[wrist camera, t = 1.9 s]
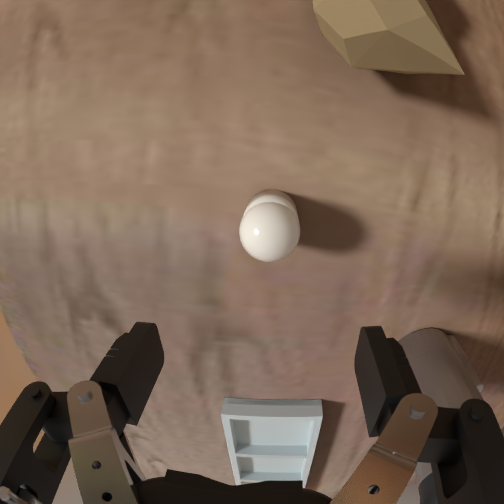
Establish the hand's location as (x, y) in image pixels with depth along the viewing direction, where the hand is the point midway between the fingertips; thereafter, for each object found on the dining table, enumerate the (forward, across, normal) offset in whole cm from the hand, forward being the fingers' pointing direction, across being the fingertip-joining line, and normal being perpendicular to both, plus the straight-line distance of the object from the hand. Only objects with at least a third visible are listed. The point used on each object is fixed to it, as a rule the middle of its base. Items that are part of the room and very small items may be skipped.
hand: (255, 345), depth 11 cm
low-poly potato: (+18, -10, -19) cm, 28 cm away
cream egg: (+18, 0, 0) cm, 18 cm away
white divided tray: (+18, 0, +42) cm, 46 cm away
